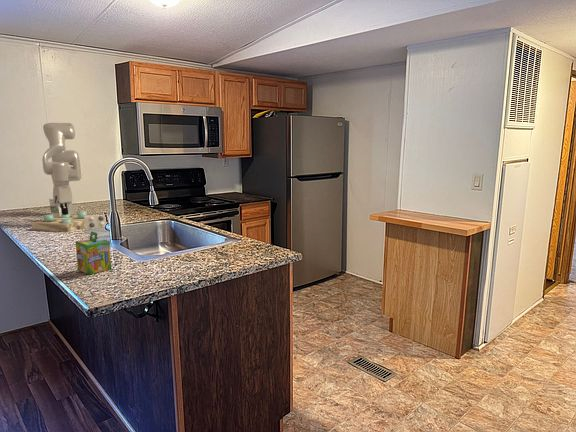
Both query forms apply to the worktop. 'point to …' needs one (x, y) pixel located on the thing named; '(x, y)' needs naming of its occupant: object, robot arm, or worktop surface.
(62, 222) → the button
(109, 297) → the worktop surface
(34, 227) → the board
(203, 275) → the worktop surface
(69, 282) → the worktop surface
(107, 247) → the chalk box
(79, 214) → the button
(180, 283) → the worktop surface
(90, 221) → the plaque
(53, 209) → the syrup box
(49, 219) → the button
